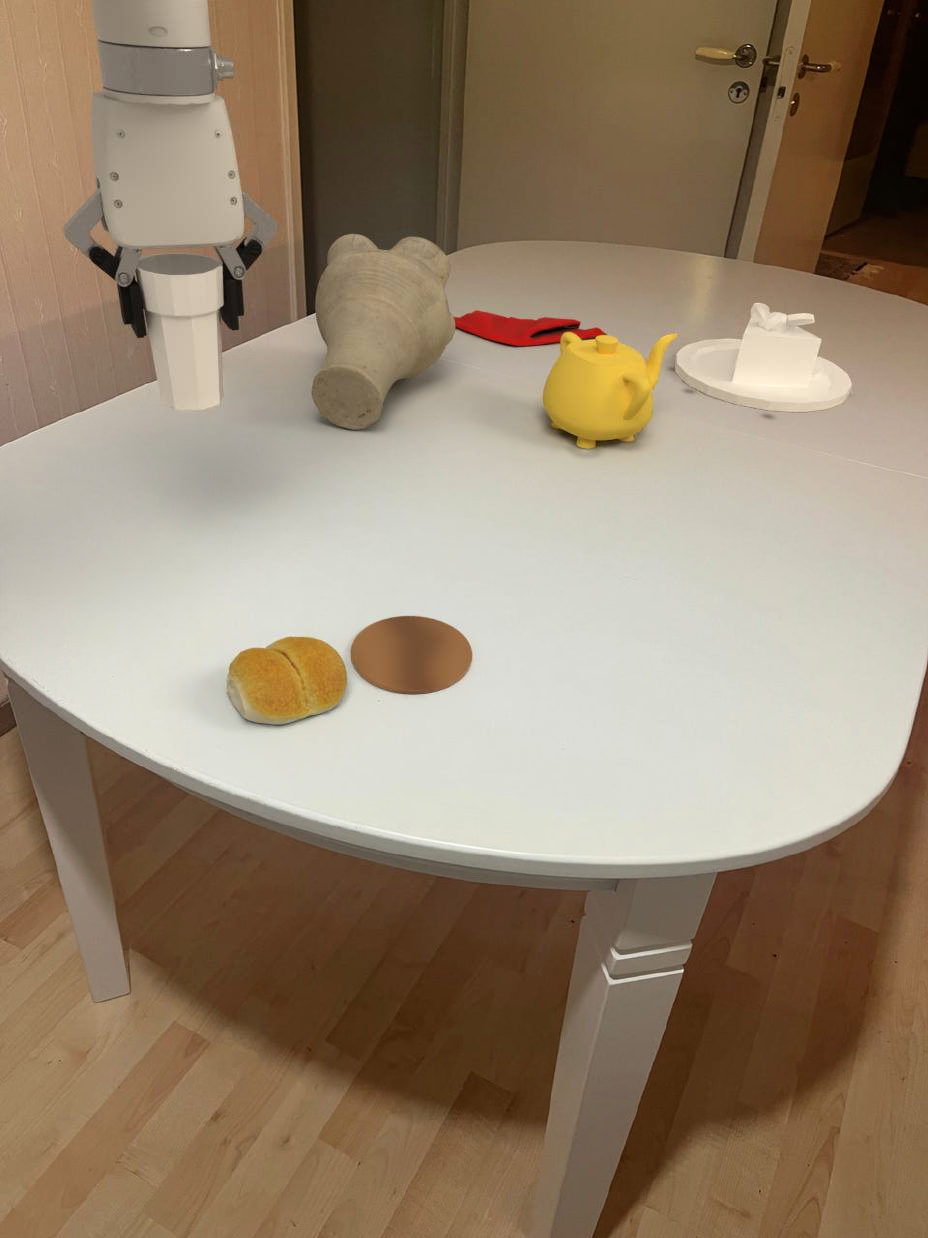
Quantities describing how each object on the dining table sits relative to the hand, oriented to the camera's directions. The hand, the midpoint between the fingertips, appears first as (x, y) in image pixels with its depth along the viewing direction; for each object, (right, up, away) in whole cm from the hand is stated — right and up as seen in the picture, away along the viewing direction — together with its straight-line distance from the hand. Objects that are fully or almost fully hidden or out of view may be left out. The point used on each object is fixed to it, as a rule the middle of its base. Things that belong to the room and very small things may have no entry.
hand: (185, 326), depth 75 cm
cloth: (+31, +21, +69) cm, 78 cm away
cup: (0, -5, +4) cm, 6 cm away
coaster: (+18, -27, +2) cm, 32 cm away
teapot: (+40, 0, +41) cm, 58 cm away
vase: (+10, +4, +44) cm, 45 cm away
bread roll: (+9, -30, -3) cm, 31 cm away
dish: (+66, +11, +60) cm, 89 cm away
